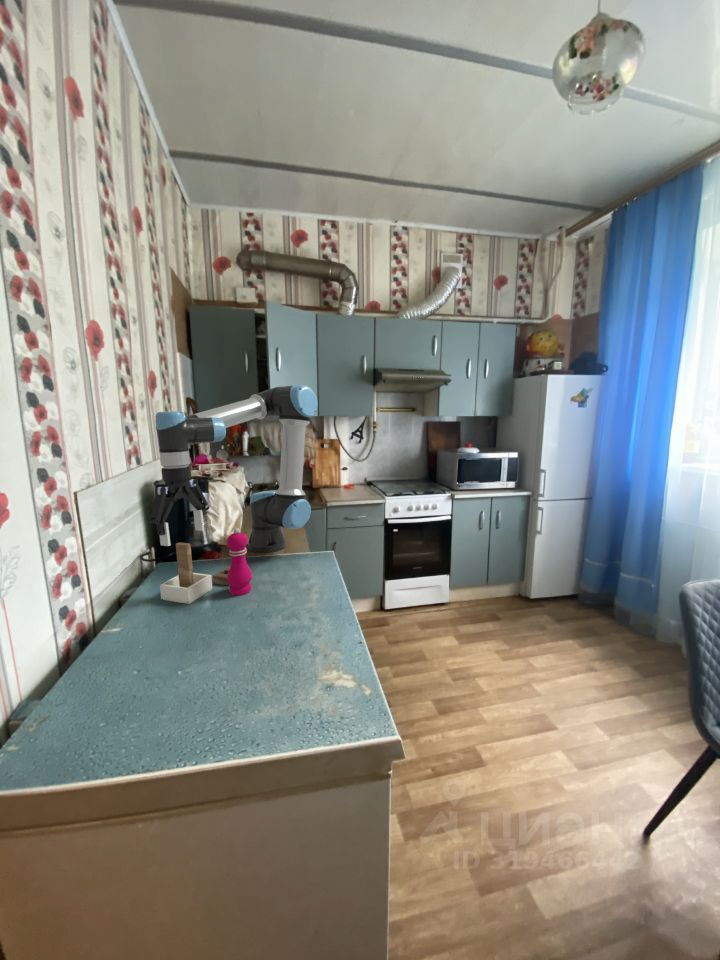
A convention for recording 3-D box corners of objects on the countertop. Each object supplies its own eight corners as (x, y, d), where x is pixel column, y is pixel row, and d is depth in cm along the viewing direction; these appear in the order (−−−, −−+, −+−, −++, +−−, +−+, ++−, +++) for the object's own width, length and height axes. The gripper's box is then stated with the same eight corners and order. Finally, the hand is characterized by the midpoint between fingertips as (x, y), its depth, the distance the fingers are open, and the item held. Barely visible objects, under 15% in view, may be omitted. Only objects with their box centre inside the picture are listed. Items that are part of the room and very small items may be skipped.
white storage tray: (186, 584, 119) (185, 571, 118) (212, 588, 116) (211, 575, 115) (161, 599, 109) (159, 584, 109) (189, 604, 106) (187, 589, 106)
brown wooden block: (183, 589, 114) (179, 542, 111) (194, 591, 113) (190, 543, 110) (180, 591, 112) (175, 544, 110) (191, 593, 111) (186, 545, 109)
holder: (227, 574, 126) (226, 567, 126) (244, 576, 124) (244, 569, 124) (213, 583, 120) (212, 575, 119) (231, 585, 118) (231, 578, 117)
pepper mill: (256, 586, 117) (252, 524, 114) (247, 597, 110) (243, 532, 107) (234, 585, 118) (230, 524, 115) (223, 596, 111) (219, 531, 108)
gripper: (195, 460, 119) (202, 524, 123) (127, 473, 96) (137, 551, 99) (215, 460, 117) (221, 525, 121) (150, 473, 93) (160, 553, 97)
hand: (183, 537), depth 110 cm, fingers open, 13 cm apart
